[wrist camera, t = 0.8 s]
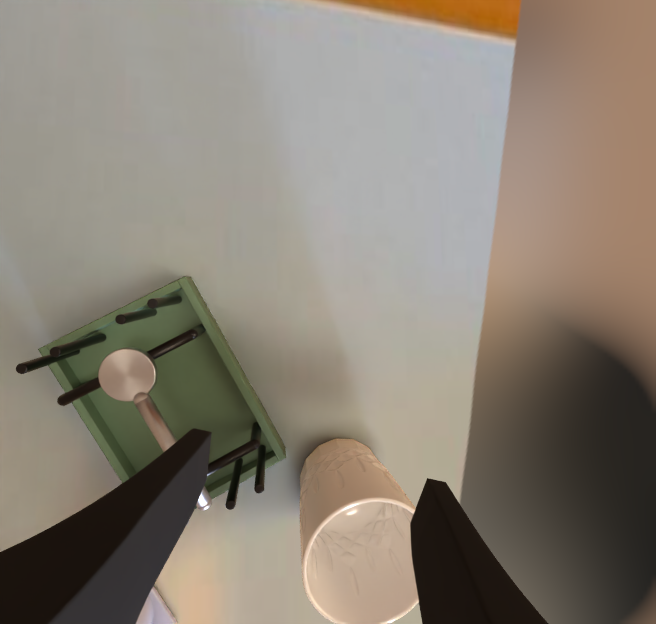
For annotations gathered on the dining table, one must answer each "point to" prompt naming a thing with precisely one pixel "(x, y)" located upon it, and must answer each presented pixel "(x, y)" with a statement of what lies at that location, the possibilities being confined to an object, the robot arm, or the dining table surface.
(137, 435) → the drip tray
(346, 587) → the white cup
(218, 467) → the dish rack
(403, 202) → the dining table surface
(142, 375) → the round metal paddle
